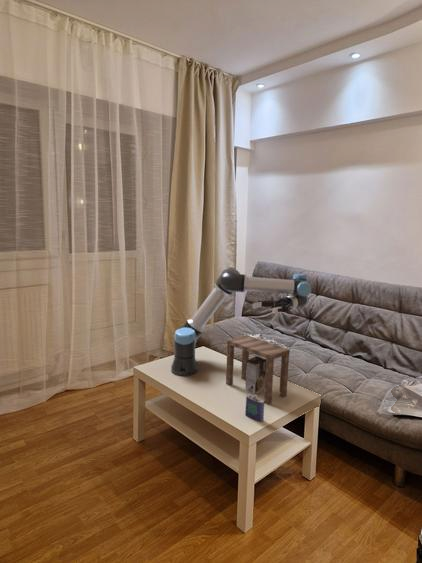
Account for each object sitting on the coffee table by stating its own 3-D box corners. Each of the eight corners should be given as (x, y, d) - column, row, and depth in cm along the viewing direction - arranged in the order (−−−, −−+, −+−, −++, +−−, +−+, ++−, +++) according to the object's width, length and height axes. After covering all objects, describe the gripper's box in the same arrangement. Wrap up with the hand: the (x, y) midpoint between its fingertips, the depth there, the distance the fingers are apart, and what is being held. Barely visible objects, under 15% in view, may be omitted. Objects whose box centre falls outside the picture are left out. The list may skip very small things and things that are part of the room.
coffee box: (255, 385, 198) (256, 355, 195) (265, 389, 194) (266, 359, 191) (244, 390, 191) (245, 360, 189) (255, 394, 187) (256, 363, 184)
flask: (264, 420, 163) (265, 397, 162) (260, 423, 161) (261, 399, 160) (247, 413, 170) (248, 390, 168) (243, 415, 167) (244, 392, 166)
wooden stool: (225, 384, 199) (227, 340, 195) (244, 377, 208) (245, 335, 204) (268, 405, 177) (271, 356, 173) (286, 396, 186) (289, 349, 182)
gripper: (306, 314, 202) (281, 320, 188) (270, 305, 220) (244, 310, 207) (307, 300, 201) (282, 305, 187) (270, 292, 219) (245, 297, 205)
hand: (262, 308), depth 197 cm, fingers open, 13 cm apart
